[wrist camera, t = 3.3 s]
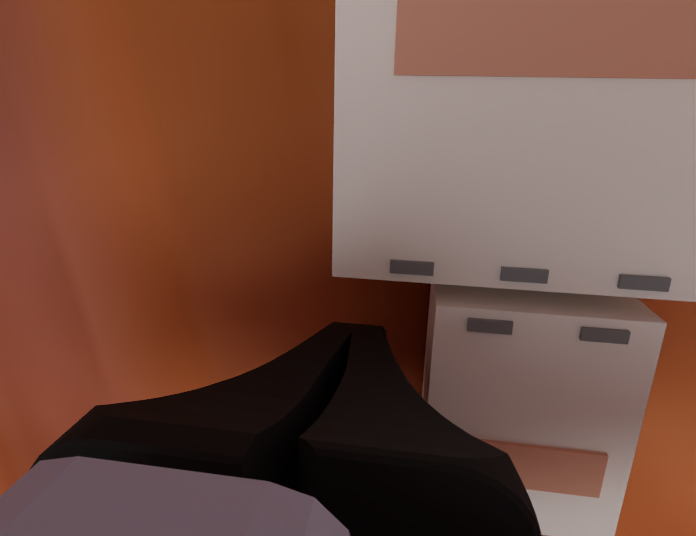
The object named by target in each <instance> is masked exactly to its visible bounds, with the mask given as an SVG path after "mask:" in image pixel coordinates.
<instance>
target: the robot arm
mask: <svg viewBox="0 0 696 536" xmlns="http://www.w3.org/2000/svg"><path fill="white" fill-rule="evenodd" d="M0 536H542V535H541V531H540V526H539V523H538V519H537V516H536V513H535V510H534V508H533V505H532V503H531V500H530V498H529V495H528V493H527V491H526V489H525V487H524V484H523V482H522V480H521V478H520V476H519V474H518V472H517V470H516V468H515V466H514V464H513V462H512V460H511V458H510V456H509V455H508V454H507V453H506V452H504V451H502V450H500V449H498V448H496V447H494V446H492V445H490V444H488V443H486V442H484V441H482V440H480V439H478V438H476V437H474V436H472V435H470V434H469V433H467V432H466V431H464V430H462V429H461V428H459V427H458V426H456V425H455V424H453V423H452V422H450V421H449V420H448V419H446V418H445V417H444V416H442V415H441V414H440V413H439V412H438V411H436V410H435V409H434V408H433V407H432V406H431V405H429V404H428V403H427V402H426V401H425V400H424V399H423V398H422V397H421V396H420V395H419V393H418V392H417V391H416V390H415V389H414V387H413V386H412V385H411V383H410V382H409V381H408V379H407V378H406V376H405V375H404V373H403V372H402V370H401V368H400V367H399V365H398V363H397V361H396V359H395V357H394V355H393V353H392V351H391V349H390V346H389V343H388V341H387V337H386V330H385V329H384V328H383V326H375V325H363V324H351V323H339V322H333V323H331V324H329V325H328V326H326V327H325V328H323V329H322V330H321V331H319V332H318V333H316V334H315V335H313V336H312V337H310V338H309V339H307V340H306V341H304V342H303V343H301V344H300V345H298V346H297V347H295V348H293V349H291V350H290V351H288V352H286V353H284V354H283V355H281V356H279V357H277V358H276V359H274V360H272V361H270V362H268V363H266V364H264V365H262V366H260V367H258V368H256V369H253V370H251V371H249V372H246V373H244V374H242V375H239V376H236V377H234V378H231V379H228V380H225V381H221V382H218V383H215V384H212V385H209V386H206V387H203V388H199V389H195V390H191V391H187V392H183V393H179V394H174V395H169V396H164V397H159V398H153V399H147V400H140V401H132V402H124V403H116V404H108V405H97V406H95V407H94V408H92V409H91V410H90V411H89V412H88V413H87V414H86V415H85V416H83V417H82V418H81V419H80V420H79V421H78V422H77V423H76V424H74V425H73V426H72V427H71V428H70V429H69V430H68V431H67V432H65V433H64V434H63V435H62V436H61V437H60V438H59V439H57V440H56V441H55V442H54V443H53V444H52V445H51V446H50V447H48V448H47V449H46V450H45V451H44V452H43V453H42V454H41V455H39V457H38V458H37V460H36V461H35V463H34V464H33V465H32V467H31V468H30V470H29V471H28V472H27V473H26V474H25V475H23V476H22V477H21V478H20V479H19V480H18V481H17V482H16V483H15V484H13V485H12V486H11V487H10V488H9V489H8V490H7V491H6V492H5V493H3V494H2V495H1V496H0Z"/></svg>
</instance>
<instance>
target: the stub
mask: <svg viewBox="0 0 696 536" xmlns="http://www.w3.org/2000/svg"><path fill="white" fill-rule="evenodd" d="M666 326H667V323H666V322H665V321H664V320H662V319H661V318H660V317H659V316H658V315H657V314H655V313H654V312H653V311H652V310H651V309H649V308H648V307H647V306H646V305H645V304H644V303H642V302H641V301H640V300H639V299H638V298H631V297H617V296H603V295H588V294H574V293H560V292H546V291H531V290H517V289H503V288H488V287H474V286H460V285H446V284H431V289H430V302H429V314H428V327H427V339H426V351H425V364H424V376H423V388H422V398H423V399H424V400H425V401H426V402H427V403H428V404H429V405H431V406H432V407H433V408H434V409H435V410H436V411H438V412H439V413H440V414H441V415H442V416H444V417H445V418H446V419H448V420H449V421H450V422H452V423H453V424H455V425H456V426H458V427H459V428H461V429H462V430H464V431H466V432H467V433H469V434H470V435H472V436H474V437H476V438H478V439H480V440H482V441H484V442H486V443H488V444H490V445H492V446H494V447H496V448H498V449H500V450H502V451H504V452H506V453H507V454H508V455H509V456H510V458H511V460H512V462H513V464H514V466H515V468H516V470H517V472H518V474H519V476H520V478H521V480H522V482H523V484H524V487H525V489H526V491H527V493H528V495H529V498H530V500H531V503H532V505H533V508H534V510H535V513H536V516H537V519H538V523H539V526H540V531H541V535H549V536H614V535H615V531H616V527H617V523H618V519H619V515H620V511H621V507H622V503H623V499H624V495H625V491H626V487H627V483H628V479H629V475H630V471H631V467H632V463H633V459H634V455H635V451H636V447H637V443H638V439H639V435H640V431H641V427H642V423H643V418H644V414H645V410H646V406H647V402H648V398H649V394H650V390H651V386H652V382H653V378H654V374H655V370H656V366H657V362H658V358H659V354H660V350H661V346H662V342H663V338H664V334H665V330H666Z"/></svg>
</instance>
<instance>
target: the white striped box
mask: <svg viewBox="0 0 696 536" xmlns="http://www.w3.org/2000/svg"><path fill="white" fill-rule="evenodd" d="M332 277H346V278H360V279H374V280H388V281H403V282H417V283H431V284H446V285H460V286H474V287H488V288H503V289H517V290H531V291H546V292H560V293H574V294H588V295H603V296H617V297H631V298H646V299H660V300H674V301H688V302H696V0H336V9H335V84H334V159H333V234H332Z"/></svg>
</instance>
